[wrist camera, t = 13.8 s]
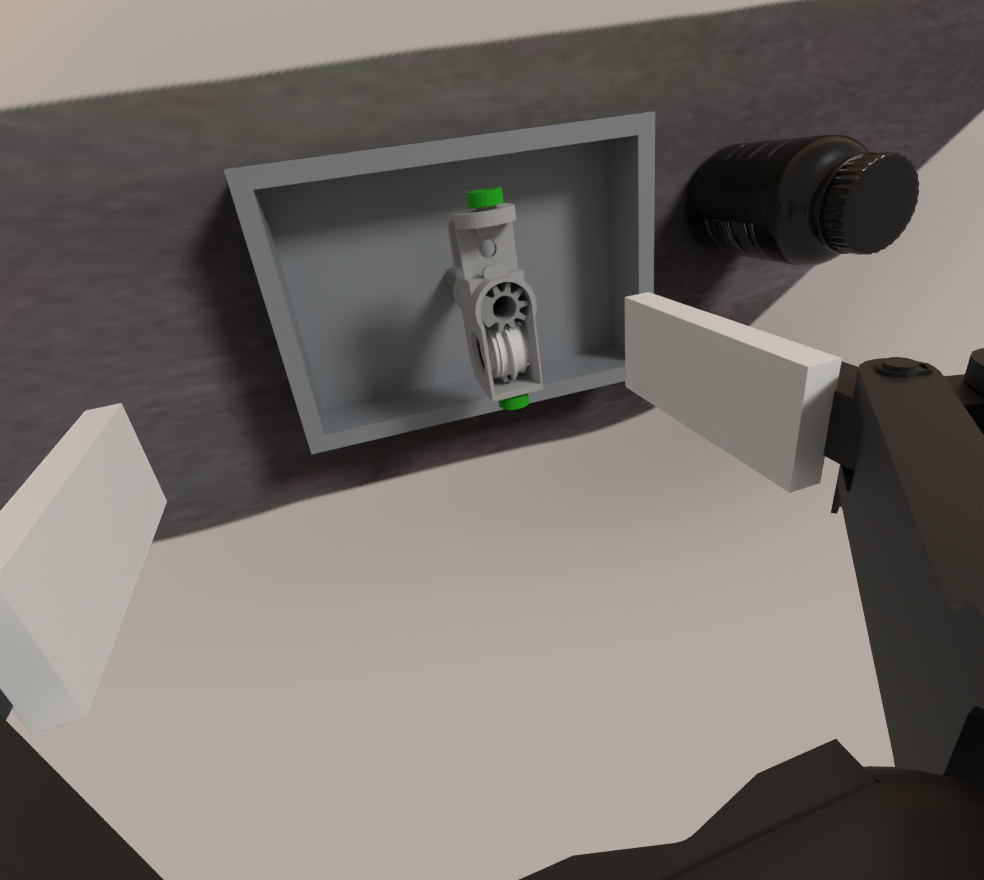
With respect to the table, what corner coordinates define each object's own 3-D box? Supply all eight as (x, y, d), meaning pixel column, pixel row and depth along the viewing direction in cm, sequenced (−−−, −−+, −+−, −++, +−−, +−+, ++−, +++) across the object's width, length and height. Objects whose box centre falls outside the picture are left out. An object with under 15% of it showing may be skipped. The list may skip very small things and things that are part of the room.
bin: (311, 421, 37) (311, 454, 33) (236, 169, 30) (223, 169, 26) (617, 352, 41) (652, 374, 37) (611, 118, 35) (655, 111, 30)
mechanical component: (466, 183, 33) (523, 184, 24) (492, 351, 38) (548, 403, 29) (416, 192, 32) (456, 196, 24) (449, 361, 37) (492, 417, 28)
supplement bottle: (769, 237, 41) (925, 260, 31) (685, 261, 40) (817, 293, 30) (772, 131, 38) (948, 116, 27) (681, 154, 37) (828, 147, 26)
